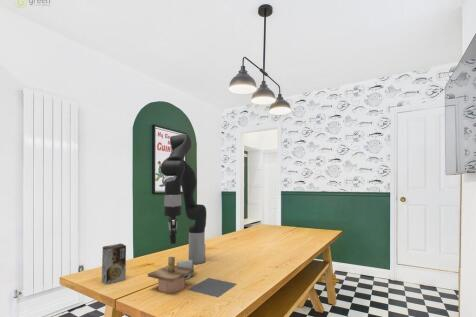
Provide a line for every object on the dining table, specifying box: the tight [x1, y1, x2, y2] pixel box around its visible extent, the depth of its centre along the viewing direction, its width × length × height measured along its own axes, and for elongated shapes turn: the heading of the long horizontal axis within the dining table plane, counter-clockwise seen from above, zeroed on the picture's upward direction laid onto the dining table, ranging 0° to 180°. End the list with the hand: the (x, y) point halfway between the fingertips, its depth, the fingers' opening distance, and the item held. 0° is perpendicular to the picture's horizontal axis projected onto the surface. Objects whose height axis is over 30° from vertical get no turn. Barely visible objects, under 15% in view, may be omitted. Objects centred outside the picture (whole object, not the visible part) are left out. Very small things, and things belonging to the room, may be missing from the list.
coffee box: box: [101, 243, 127, 285], centre depth 129 cm, size 9×6×16 cm
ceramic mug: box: [175, 259, 195, 281], centre depth 132 cm, size 11×8×8 cm
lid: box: [147, 256, 195, 282], centre depth 119 cm, size 14×14×7 cm
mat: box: [186, 277, 238, 298], centre depth 119 cm, size 16×16×1 cm
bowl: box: [157, 277, 185, 294], centre depth 119 cm, size 11×11×6 cm
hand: (172, 241), depth 120 cm, fingers open, 8 cm apart
